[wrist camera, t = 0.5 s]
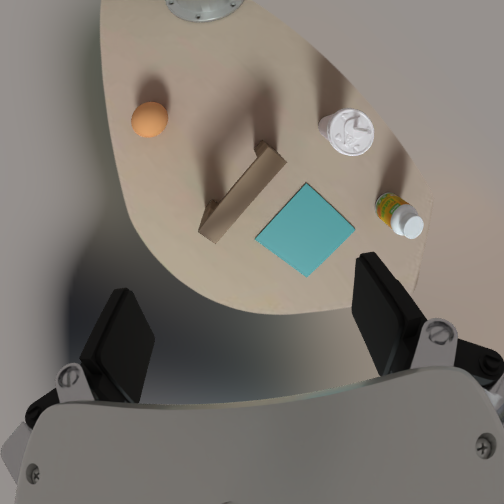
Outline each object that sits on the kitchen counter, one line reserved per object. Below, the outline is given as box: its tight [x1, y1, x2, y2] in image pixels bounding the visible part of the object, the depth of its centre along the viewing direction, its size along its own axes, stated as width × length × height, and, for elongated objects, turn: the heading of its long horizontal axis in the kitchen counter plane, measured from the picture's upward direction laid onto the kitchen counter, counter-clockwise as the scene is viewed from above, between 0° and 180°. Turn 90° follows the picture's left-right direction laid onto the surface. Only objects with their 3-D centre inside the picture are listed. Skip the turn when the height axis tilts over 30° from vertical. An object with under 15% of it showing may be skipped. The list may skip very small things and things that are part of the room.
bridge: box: [198, 140, 287, 244], centre depth 38 cm, size 3×14×9 cm, turn 140°
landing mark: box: [255, 183, 355, 277], centre depth 47 cm, size 13×13×1 cm
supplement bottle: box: [375, 193, 423, 239], centre depth 41 cm, size 5×5×10 cm
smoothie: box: [318, 108, 374, 156], centre depth 32 cm, size 6×6×14 cm
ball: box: [131, 102, 168, 138], centre depth 34 cm, size 6×6×6 cm
